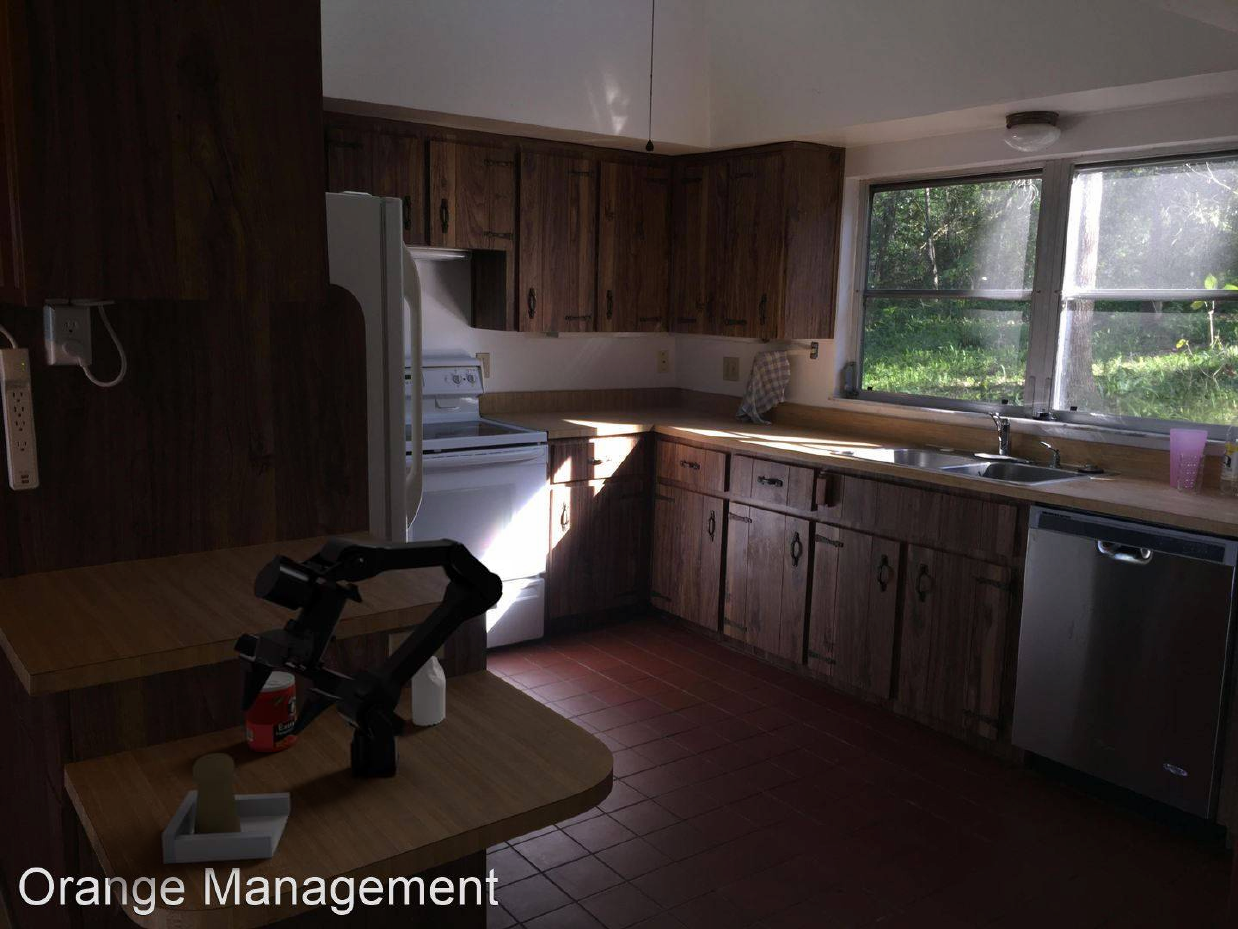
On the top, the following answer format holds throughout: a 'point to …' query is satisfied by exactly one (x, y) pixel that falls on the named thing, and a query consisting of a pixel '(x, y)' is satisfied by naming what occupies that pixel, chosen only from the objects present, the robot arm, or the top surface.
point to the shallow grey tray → (256, 839)
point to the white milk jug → (428, 694)
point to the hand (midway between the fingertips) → (268, 723)
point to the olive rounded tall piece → (215, 795)
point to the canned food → (273, 715)
